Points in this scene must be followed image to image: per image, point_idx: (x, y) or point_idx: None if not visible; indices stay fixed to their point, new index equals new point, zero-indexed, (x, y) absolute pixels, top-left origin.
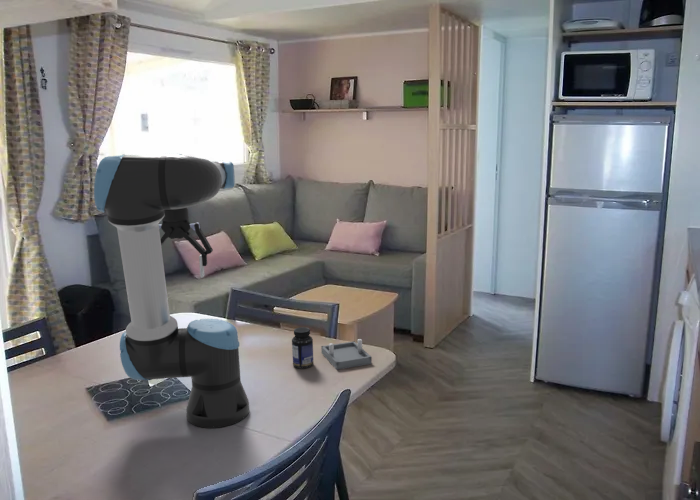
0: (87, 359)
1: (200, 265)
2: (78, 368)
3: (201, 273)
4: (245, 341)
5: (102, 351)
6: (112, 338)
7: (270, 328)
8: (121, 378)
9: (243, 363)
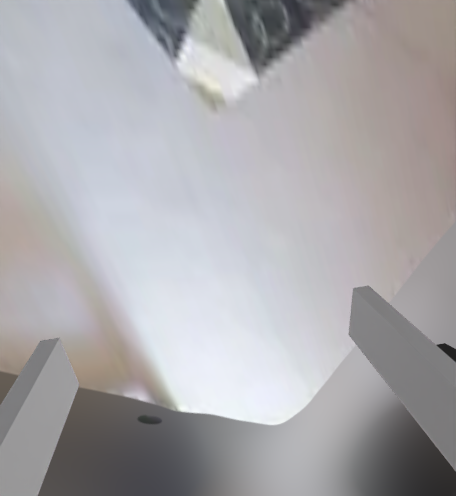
0: (416, 169)
1: (4, 424)
2: (425, 111)
3: (34, 362)
4: (76, 299)
5: (394, 217)
6: (389, 288)
7: None
8: (308, 40)
9: (8, 155)
